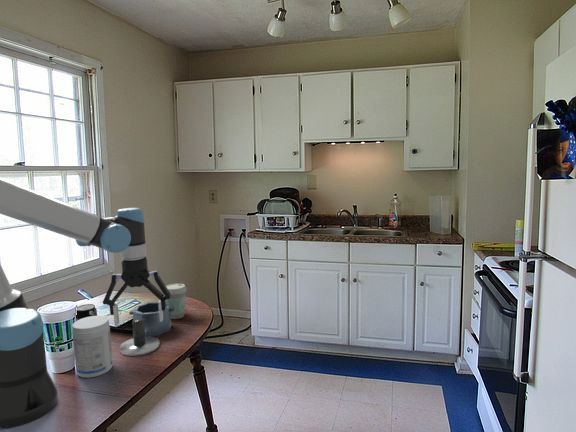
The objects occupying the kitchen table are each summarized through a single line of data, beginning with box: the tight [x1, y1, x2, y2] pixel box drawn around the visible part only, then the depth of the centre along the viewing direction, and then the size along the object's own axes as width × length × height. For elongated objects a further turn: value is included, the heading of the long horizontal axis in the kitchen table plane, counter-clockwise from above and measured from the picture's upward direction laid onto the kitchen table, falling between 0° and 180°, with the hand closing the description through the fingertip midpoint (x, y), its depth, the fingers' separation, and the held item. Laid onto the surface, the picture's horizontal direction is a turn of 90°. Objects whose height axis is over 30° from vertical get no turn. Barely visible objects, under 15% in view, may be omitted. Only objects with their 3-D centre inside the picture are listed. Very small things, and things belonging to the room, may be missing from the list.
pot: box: [129, 301, 174, 337], centre depth 143 cm, size 12×15×8 cm
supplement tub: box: [71, 315, 114, 379], centre depth 114 cm, size 10×10×15 cm
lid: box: [119, 318, 160, 357], centre depth 129 cm, size 12×12×9 cm
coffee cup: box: [165, 283, 187, 320], centre depth 155 cm, size 8×9×12 cm
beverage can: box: [76, 303, 98, 321], centre depth 134 cm, size 7×7×12 cm
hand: (139, 322), depth 129 cm, fingers open, 13 cm apart
